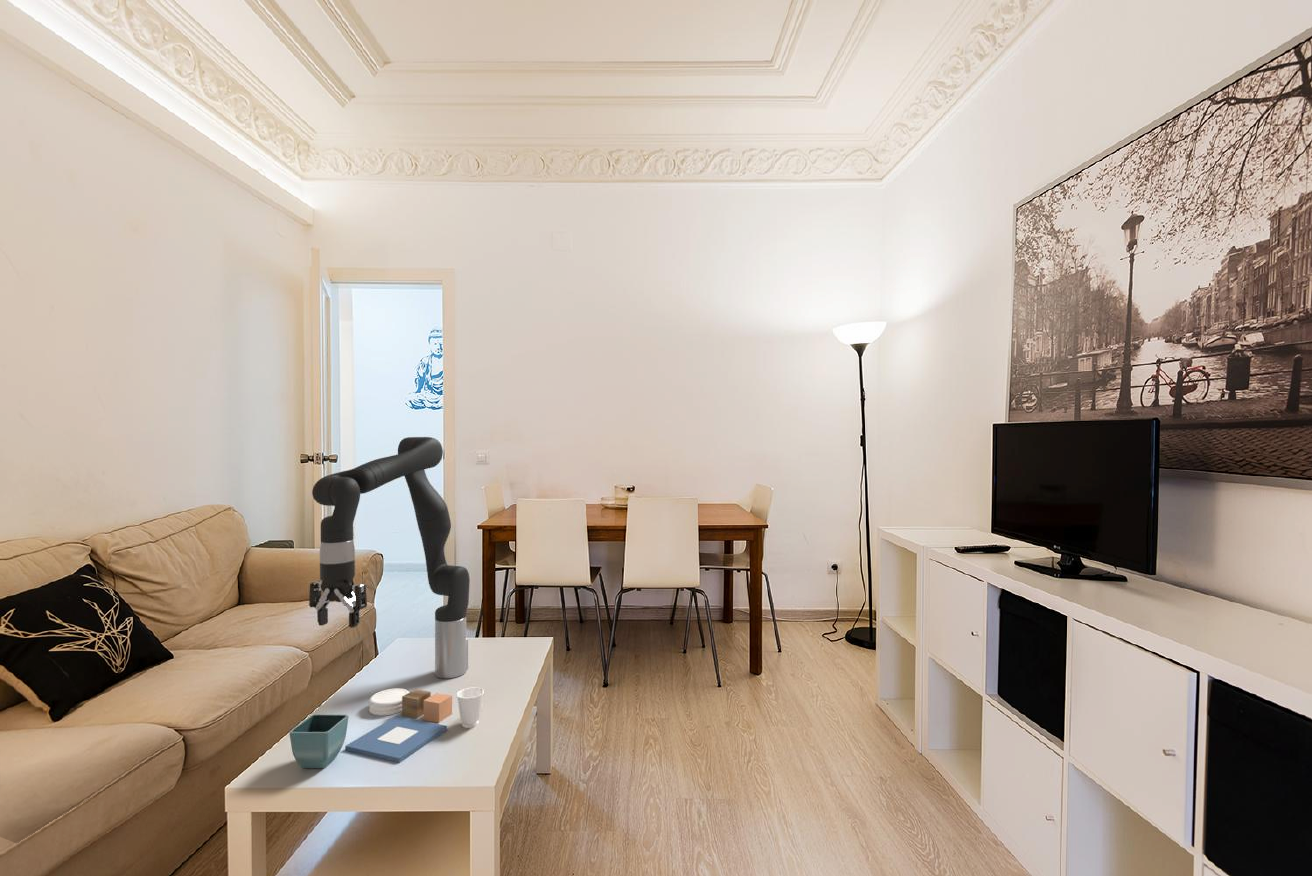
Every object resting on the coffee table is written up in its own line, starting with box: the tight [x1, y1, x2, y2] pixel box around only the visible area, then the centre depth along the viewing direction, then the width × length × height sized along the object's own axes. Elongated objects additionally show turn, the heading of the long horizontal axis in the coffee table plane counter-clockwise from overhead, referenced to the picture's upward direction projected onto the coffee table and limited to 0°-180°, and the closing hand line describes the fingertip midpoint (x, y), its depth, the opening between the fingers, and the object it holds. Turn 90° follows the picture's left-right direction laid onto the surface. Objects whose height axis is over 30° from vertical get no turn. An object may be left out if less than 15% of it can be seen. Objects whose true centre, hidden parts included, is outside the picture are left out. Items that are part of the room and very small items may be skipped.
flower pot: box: [288, 713, 350, 769], centre depth 134 cm, size 9×9×9 cm
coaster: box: [368, 687, 410, 717], centre depth 162 cm, size 10×10×4 cm
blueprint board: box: [344, 715, 448, 764], centre depth 144 cm, size 16×16×1 cm
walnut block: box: [401, 688, 432, 719], centre depth 159 cm, size 5×5×5 cm
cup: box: [456, 686, 485, 729], centre depth 154 cm, size 7×10×8 cm
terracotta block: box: [423, 692, 453, 724], centre depth 156 cm, size 5×5×5 cm
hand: (338, 625), depth 145 cm, fingers open, 8 cm apart
